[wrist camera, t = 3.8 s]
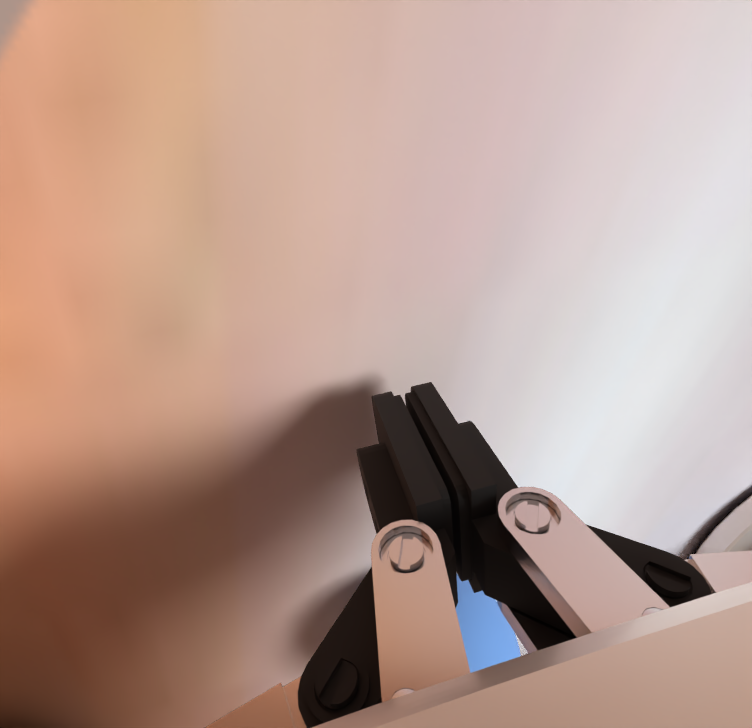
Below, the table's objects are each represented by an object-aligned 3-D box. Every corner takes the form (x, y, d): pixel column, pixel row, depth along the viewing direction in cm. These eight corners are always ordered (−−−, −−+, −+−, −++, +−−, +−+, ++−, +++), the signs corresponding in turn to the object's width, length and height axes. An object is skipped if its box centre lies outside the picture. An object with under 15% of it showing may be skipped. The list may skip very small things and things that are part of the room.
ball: (479, 523, 17) (562, 677, 13) (481, 605, 20) (548, 757, 15) (340, 562, 17) (371, 742, 12) (361, 642, 19) (394, 813, 15)
